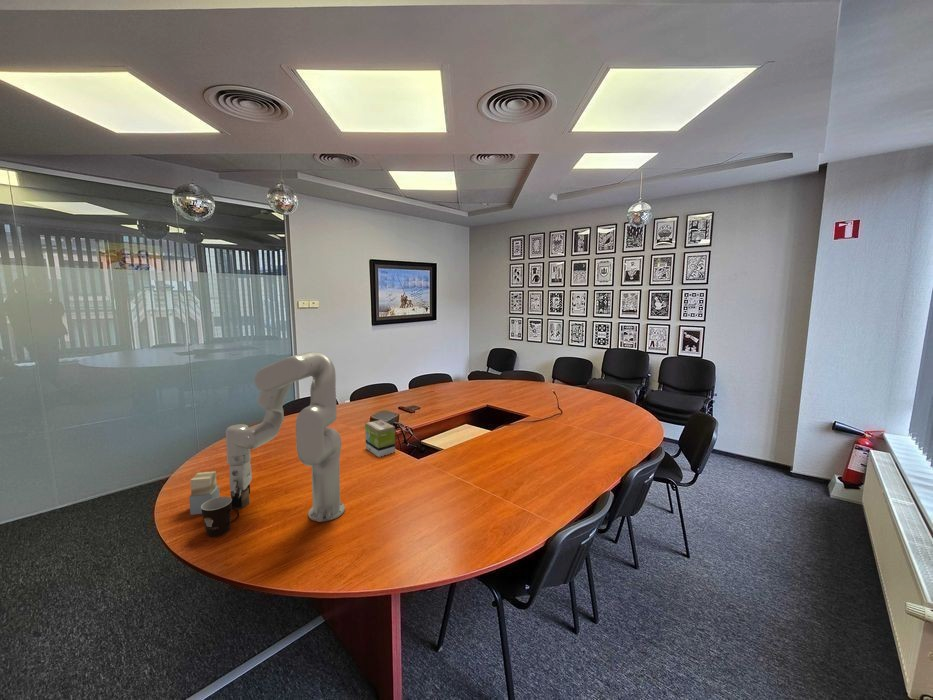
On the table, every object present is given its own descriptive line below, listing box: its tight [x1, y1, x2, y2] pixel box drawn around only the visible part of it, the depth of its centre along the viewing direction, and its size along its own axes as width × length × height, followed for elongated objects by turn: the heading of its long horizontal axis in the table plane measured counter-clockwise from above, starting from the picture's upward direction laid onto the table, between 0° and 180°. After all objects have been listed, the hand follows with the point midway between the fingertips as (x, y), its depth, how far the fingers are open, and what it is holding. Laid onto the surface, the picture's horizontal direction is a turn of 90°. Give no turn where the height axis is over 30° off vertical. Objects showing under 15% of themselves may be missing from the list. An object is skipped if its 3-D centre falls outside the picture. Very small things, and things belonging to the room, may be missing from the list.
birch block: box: [190, 470, 218, 496], centre depth 137 cm, size 6×6×6 cm
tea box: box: [364, 419, 396, 458], centre depth 195 cm, size 15×10×15 cm
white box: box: [188, 485, 221, 516], centre depth 138 cm, size 7×7×7 cm
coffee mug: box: [201, 496, 240, 538], centre depth 123 cm, size 12×9×10 cm
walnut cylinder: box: [236, 487, 250, 510], centre depth 141 cm, size 5×5×6 cm
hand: (241, 500), depth 141 cm, fingers open, 9 cm apart
